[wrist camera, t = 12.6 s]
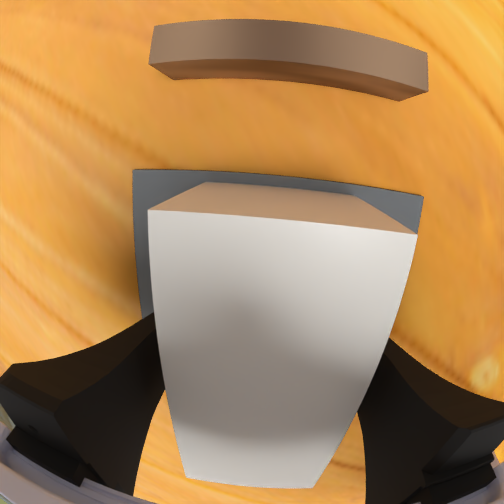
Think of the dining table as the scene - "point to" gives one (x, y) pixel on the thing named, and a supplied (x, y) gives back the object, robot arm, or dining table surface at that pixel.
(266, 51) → the brown rectangular bar
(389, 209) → the thin grey square plate
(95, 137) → the dining table surface
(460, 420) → the robot arm
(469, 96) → the dining table surface
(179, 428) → the white rectangular block
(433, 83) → the dining table surface
